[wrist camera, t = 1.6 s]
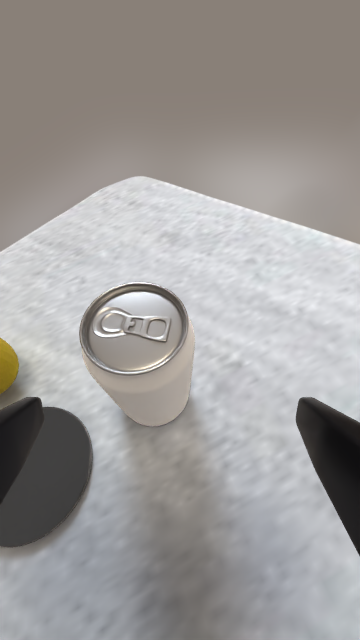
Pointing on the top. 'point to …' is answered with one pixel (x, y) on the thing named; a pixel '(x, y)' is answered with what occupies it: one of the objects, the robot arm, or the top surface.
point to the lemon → (7, 365)
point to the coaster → (47, 480)
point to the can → (140, 350)
